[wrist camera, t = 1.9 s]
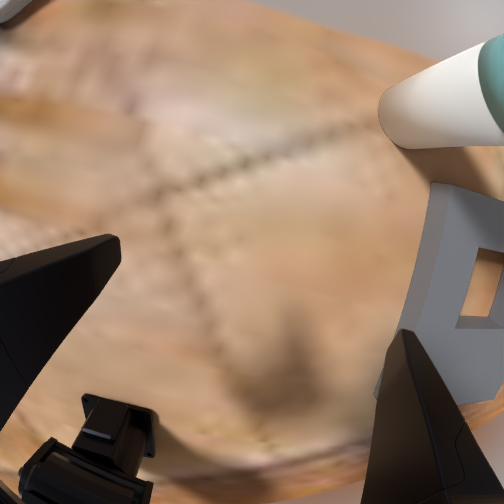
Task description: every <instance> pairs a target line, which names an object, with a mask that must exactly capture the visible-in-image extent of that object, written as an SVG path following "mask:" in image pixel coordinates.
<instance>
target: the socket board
mask: <svg viewBox="0 0 504 504" xmlns="http://www.w3.org/2000/svg"><path fill="white" fill-rule="evenodd" d="M479 247H480V248H485V249H489V250H494V251H498V252H503V253H504V202H503V201H500V200H497V199H494V198H491V197H489V196H486V195H483V194H480V193H477V192H474V191H470V190H467V189H464V188H461V187H458V186H454V185H451V184H443V183H436V182H432V184H431V190H430V196H429V202H428V208H427V213H426V219H425V224H424V229H423V233H422V238H421V243H420V247H419V252H418V256H417V260H416V264H415V268H414V272H413V276H412V280H411V284H410V287H409V291H408V294H407V298H406V301H405V305H404V308H403V311H402V315H401V318H400V321H399V324H398V327H397V331H396V334H397V332H398V331H399V330H400V329H402V328H404V329H407V330H411V331H413V332H414V333H415V334H416V336H417V337H418V339H419V341H420V342H421V344H422V345H423V347H424V349H425V350H426V352H427V354H428V355H429V357H430V359H431V360H432V362H433V364H434V365H435V367H436V369H437V370H438V372H439V374H440V376H441V377H442V379H443V381H444V383H445V384H446V386H447V388H448V390H449V391H450V393H451V395H452V397H453V399H454V400H455V402H456V404H457V405H463V404H469V403H475V402H481V401H487V400H492V399H494V398H495V396H496V394H497V393H498V391H499V389H500V387H501V385H502V383H503V381H504V267H503V271H502V275H501V278H500V282H499V285H498V289H497V292H496V295H495V298H494V301H493V304H492V307H491V310H490V313H489V316H488V317H477V316H459V315H460V312H461V309H462V306H463V303H464V300H465V296H466V293H467V290H468V286H469V283H470V279H471V276H472V272H473V269H474V265H475V261H476V257H477V253H478V249H479ZM396 334H395V336H396ZM394 338H395V337H394ZM382 374H383V370H382V373H381V375H380V378H379V381H378V383H377V386H376V388H375V391H374V393H373V394H374V396H375V398H376V400H377V398H378V393H379V388H380V383H381V378H382Z"/></svg>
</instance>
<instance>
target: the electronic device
mask: <svg viewBox="0 0 504 504" xmlns="http://www.w3.org/2000/svg"><path fill="white" fill-rule="evenodd" d="M32 1H33V0H0V23H3V22H5V21H7V20H9V19H11V18H12V17H14V16H15V15H16V14H17V13H18V12H20V11H21V10H22V9H23V8H24V7H26V6H27V5H28V4H29V3H31V2H32Z"/></svg>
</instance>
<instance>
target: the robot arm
mask: <svg viewBox="0 0 504 504" xmlns="http://www.w3.org/2000/svg"><path fill="white" fill-rule="evenodd" d="M120 263H121V247H120V239H119V238H118V237H117V236H115V235H112V234H104V235H100V236H95V237H91V238H87V239H83V240H79V241H75V242H71V243H67V244H63V245H60V246H56V247H52V248H48V249H44V250H41V251H37V252H33V253H30V254H26V255H22V256H19V257H17V258H11V259H8V260H4V261H0V431H1V430H2V428H3V427H4V425H5V424H6V422H7V420H8V419H9V417H10V416H11V414H12V413H13V411H14V410H15V408H16V407H17V405H18V404H19V402H20V401H21V399H22V398H23V396H24V395H25V393H26V392H27V390H28V389H29V387H30V386H31V384H32V383H33V381H34V380H35V379H36V377H37V376H38V374H39V373H40V372H41V370H42V369H43V367H44V366H45V365H46V363H47V362H48V361H49V359H50V358H51V356H52V355H53V354H54V352H55V351H56V350H57V348H58V347H59V346H60V344H61V343H62V342H63V340H64V339H65V338H66V336H67V335H68V334H69V333H70V331H71V330H72V329H73V327H74V326H75V325H76V324H77V322H78V321H79V320H80V319H81V317H82V316H83V315H84V314H85V312H86V311H87V310H88V309H89V307H90V306H91V305H92V304H93V302H94V301H95V300H96V298H97V297H98V296H99V294H100V293H101V291H102V290H103V288H104V287H105V285H106V284H107V282H108V281H109V279H110V278H111V276H112V275H113V274H114V272H115V271H116V269H117V268H118V266H119V265H120ZM87 399H88V400H87ZM81 400H82V405H83V409H84V413H85V418H86V421H85V423H84V425H83V426H82V429H81V431H80V432H79V434H78V436H77V438H76V440H75V441H74V443H73V445H72V447H71V448H69V447H67V446H65V445H64V444H62V443H60V442H58V440H56V439H55V438H53V437H51V438H50V439H49V440H48V441H47V442H45V443H44V444H43V445H42V446H41V447H40V448H39V449H38V450H37V451H36V452H35V453H34V454H33V456H32V457H31V458H30V459H29V460H28V461H27V462H26V463H25V464H24V466H23V467H21V468H20V469H19V472H18V474H19V476H20V481H19V487H18V491H19V494H20V495H21V496H22V499H20V498H19V497H18V496H17V495H16V494H15V493H14V492H13V491H12V490H10V489H9V488H8V487H7V486H6V485H5V484H4V483H3V482H2V481H1V480H0V504H149V503H150V498H151V493H152V489H153V484H154V483H153V482H150V481H144V480H141V479H139V478H136V476H137V473H138V470H139V467H140V464H141V461H142V458H143V456H144V457H149V458H153V457H154V456H155V443H154V431H153V416H152V412H151V411H150V410H149V409H146V408H141V407H137V406H132V405H128V404H124V403H120V402H116V401H112V400H108V399H104V398H100V397H97V396H93V395H90V394H84V395H83V396H82V397H81ZM146 414H147V415H146ZM464 421H465V419H464V417H463V415H462V413H461V412H460V410H459V408H458V406H457V404H456V402H455V400H454V399H453V397H452V395H451V393H450V391H449V390H448V388H447V386H446V384H445V383H444V381H443V379H442V377H441V376H440V374H439V372H438V370H437V369H436V367H435V365H434V364H433V362H432V360H431V359H430V357H429V355H428V354H427V352H426V350H425V349H424V347H423V345H422V344H421V342H420V341H419V339H418V337H417V336H416V334H415V333H414V332H413V331H411V330H407V329H404V328H402V329H400V330H399V331H398V332H397V334H396V336H395V338H394V339H393V341H392V343H391V344H390V346H389V348H388V350H387V353H386V358H385V363H384V368H383V374H382V378H381V383H380V388H379V393H378V398H377V404H376V413H375V421H374V429H373V436H372V443H371V450H370V456H369V462H368V468H367V473H366V479H365V484H364V489H363V494H362V499H361V504H504V489H503V487H502V485H501V483H500V482H499V480H498V478H497V476H496V475H495V473H494V471H493V469H492V468H491V466H490V465H489V463H488V461H487V459H486V458H485V456H484V454H483V452H482V451H481V449H480V447H479V445H478V444H477V442H476V440H475V438H474V436H473V434H472V432H471V430H470V428H469V427H468V425H467V423H466V422H464Z"/></svg>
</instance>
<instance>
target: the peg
mask: <svg viewBox="0 0 504 504" xmlns="http://www.w3.org/2000/svg"><path fill="white" fill-rule="evenodd" d="M378 117H379V121H380V124H381V127H382V129H383V131H384V132H385V134H386V135H387V137H388V138H389V139H390V140H391V141H392V142H394V143H395V144H396V145H398V146H400V147H402V148H405V149H425V148H442V147H464V146H504V34H502V35H500V36H497V37H495V38H493V39H490V40H488V41H486V42H483V43H481V44H479V45H476V46H474V47H472V48H470V49H468V50H465V51H463V52H461V53H459V54H457V55H454V56H452V57H450V58H448V59H446V60H444V61H442V62H440V63H438V64H435V65H433V66H431V67H429V68H427V69H425V70H423V71H421V72H419V73H417V74H415V75H413V76H411V77H409V78H407V79H405V80H403V81H402V82H400V83H398V84H396V85H394V86H392V87H390V88H388V89H387V90H386V91H385V92H384V93H383V95H382V96H381V98H380V101H379V105H378Z"/></svg>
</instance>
